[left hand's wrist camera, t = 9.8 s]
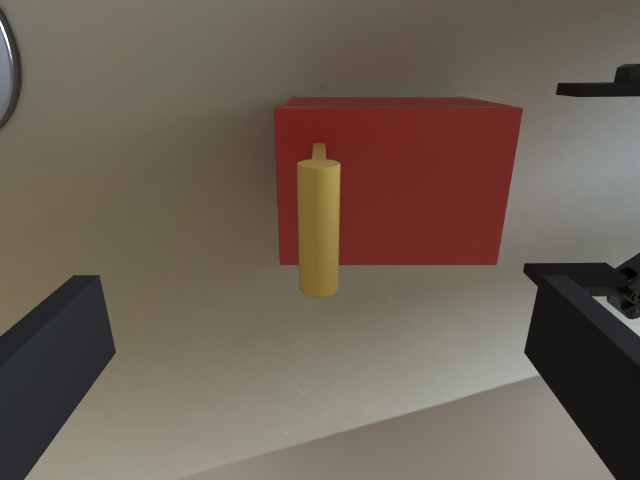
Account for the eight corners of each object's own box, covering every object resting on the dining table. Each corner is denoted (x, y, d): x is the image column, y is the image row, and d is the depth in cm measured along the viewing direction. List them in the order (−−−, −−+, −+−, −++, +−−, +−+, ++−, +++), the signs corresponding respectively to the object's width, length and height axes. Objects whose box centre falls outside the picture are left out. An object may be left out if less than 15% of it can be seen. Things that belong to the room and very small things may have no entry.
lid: (281, 257, 29) (266, 330, 21) (276, 106, 25) (254, 123, 17) (489, 257, 29) (555, 330, 21) (513, 106, 25) (605, 123, 17)
